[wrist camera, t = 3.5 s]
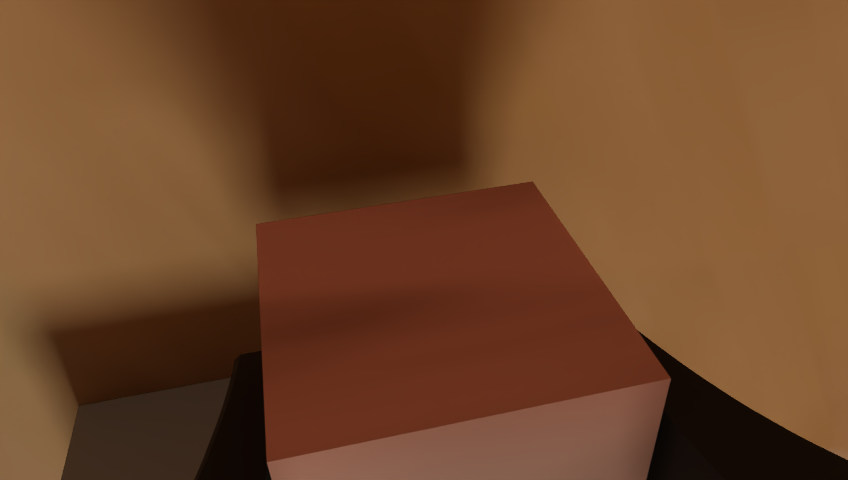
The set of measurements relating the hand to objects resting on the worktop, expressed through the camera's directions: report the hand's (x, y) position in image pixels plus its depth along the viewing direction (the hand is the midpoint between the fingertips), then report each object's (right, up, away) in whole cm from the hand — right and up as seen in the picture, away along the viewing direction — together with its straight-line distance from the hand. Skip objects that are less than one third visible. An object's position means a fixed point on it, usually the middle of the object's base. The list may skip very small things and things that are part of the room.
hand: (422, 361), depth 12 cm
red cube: (0, +1, +1) cm, 2 cm away
